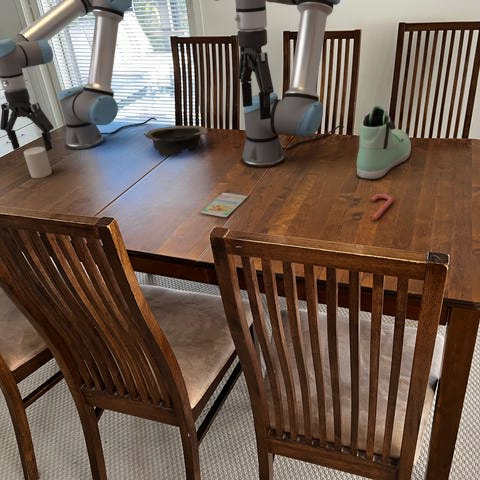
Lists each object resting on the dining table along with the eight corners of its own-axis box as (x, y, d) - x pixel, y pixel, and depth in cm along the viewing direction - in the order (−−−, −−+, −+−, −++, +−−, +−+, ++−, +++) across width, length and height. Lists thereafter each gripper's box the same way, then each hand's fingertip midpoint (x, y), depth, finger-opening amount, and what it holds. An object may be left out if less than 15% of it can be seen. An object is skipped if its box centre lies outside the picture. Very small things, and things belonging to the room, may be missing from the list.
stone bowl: (160, 165, 176) (155, 140, 172) (140, 150, 196) (135, 128, 192) (220, 149, 185) (217, 125, 181) (195, 136, 205) (192, 115, 201)
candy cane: (355, 217, 134) (355, 212, 134) (376, 195, 144) (376, 191, 144) (376, 222, 131) (376, 217, 130) (395, 199, 141) (396, 195, 141)
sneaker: (416, 146, 176) (423, 89, 165) (393, 183, 150) (400, 120, 140) (378, 142, 182) (383, 87, 171) (351, 177, 156) (354, 116, 146)
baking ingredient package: (199, 211, 142) (223, 191, 153) (199, 213, 142) (223, 192, 154) (226, 216, 138) (248, 195, 150) (226, 217, 139) (248, 196, 150)
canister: (41, 169, 183) (34, 146, 178) (56, 171, 180) (49, 147, 175) (26, 176, 177) (18, 153, 172) (41, 179, 174) (34, 155, 169)
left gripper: (-24, 92, 162) (-4, 151, 173) (40, 92, 156) (57, 153, 167) (-9, 86, 168) (10, 144, 179) (53, 86, 162) (68, 146, 173)
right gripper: (222, 25, 131) (229, 103, 142) (255, 37, 110) (260, 127, 121) (248, 22, 132) (252, 99, 144) (285, 33, 112) (287, 122, 123)
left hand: (32, 149), depth 173 cm, fingers open, 13 cm apart
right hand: (256, 112), depth 132 cm, fingers open, 13 cm apart
